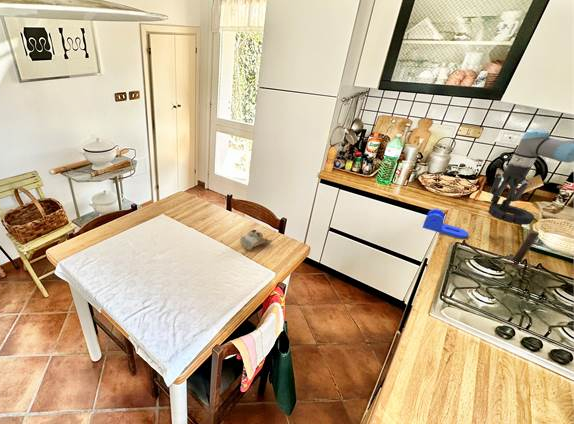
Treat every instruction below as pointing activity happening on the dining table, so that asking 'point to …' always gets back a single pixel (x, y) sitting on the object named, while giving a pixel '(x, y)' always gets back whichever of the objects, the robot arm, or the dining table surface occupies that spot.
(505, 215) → the tape roll
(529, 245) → the peg stand
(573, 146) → the robot arm
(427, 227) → the bracket
